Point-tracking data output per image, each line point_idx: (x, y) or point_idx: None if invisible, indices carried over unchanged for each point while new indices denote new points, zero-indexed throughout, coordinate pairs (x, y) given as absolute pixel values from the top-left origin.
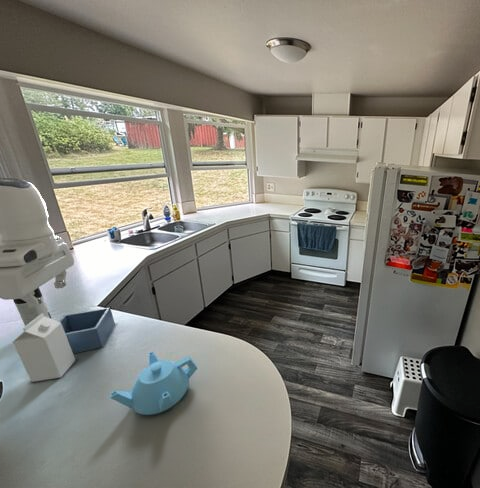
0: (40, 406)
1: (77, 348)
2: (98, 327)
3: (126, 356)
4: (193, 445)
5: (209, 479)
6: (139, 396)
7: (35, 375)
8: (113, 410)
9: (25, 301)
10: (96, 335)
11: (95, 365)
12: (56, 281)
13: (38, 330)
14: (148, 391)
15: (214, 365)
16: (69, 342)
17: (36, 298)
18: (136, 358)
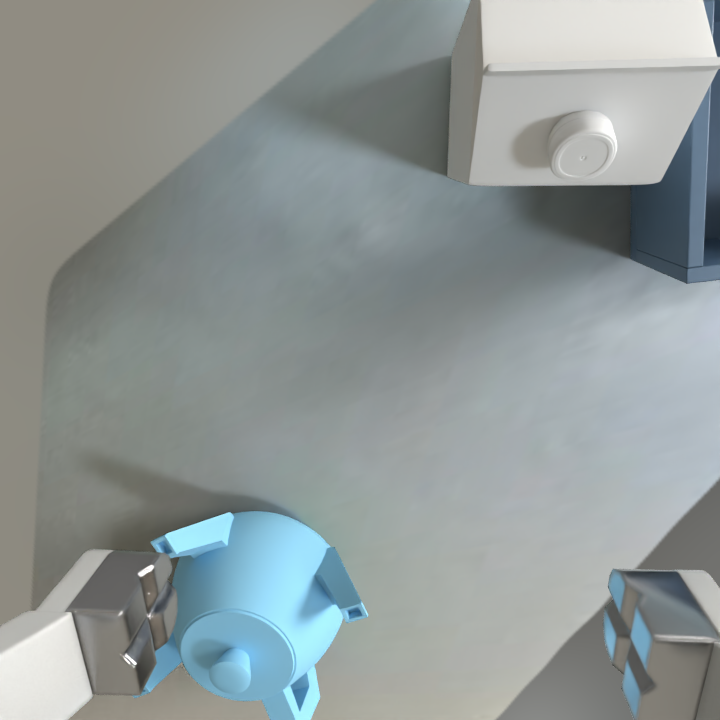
0: (298, 193)
1: None
2: (710, 278)
3: (513, 396)
4: None
5: None
6: (177, 593)
7: (452, 76)
8: (235, 450)
9: (20, 615)
10: (664, 264)
11: (490, 289)
12: (714, 650)
13: (525, 130)
14: (173, 630)
15: (364, 690)
16: None
17: (66, 716)
18: (485, 439)
